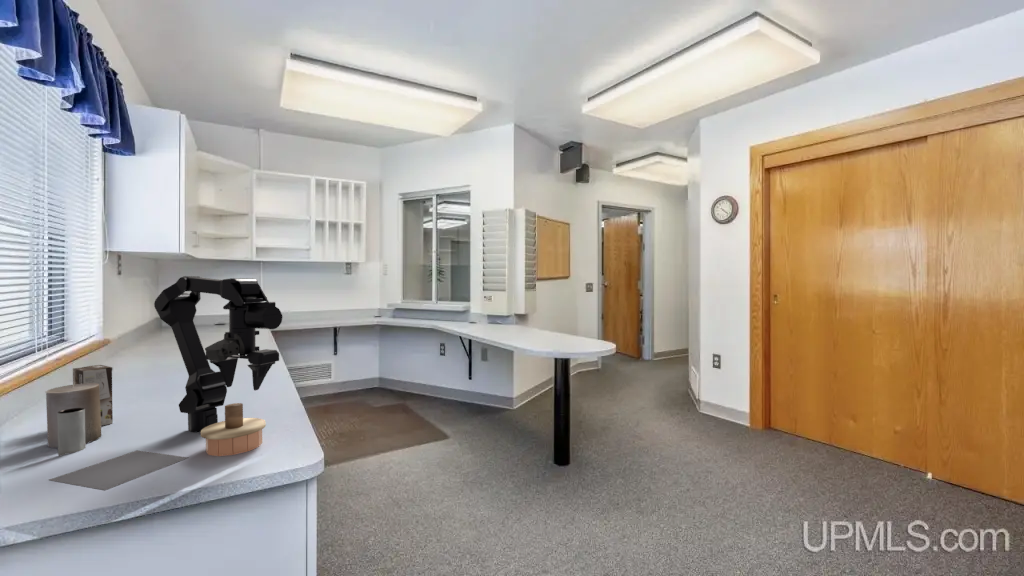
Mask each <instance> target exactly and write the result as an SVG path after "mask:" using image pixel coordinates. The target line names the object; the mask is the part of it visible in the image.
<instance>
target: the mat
mask: <svg viewBox="0 0 1024 576" xmlns="http://www.w3.org/2000/svg"><path fill="white" fill-rule="evenodd" d="M189 458H190V457H187V456H181V455H173V454H165V453H158V452H153V451H146V450H145V451H144V450H138V449H136V450H134V451H131V452H128V453H125V454H121V455H119V456H115V457H113V458H110V459H107V460H104V461H100V462H98V463H94V464H92V465H88V466H86V467H82V468H79V469H76V470H74V471H71V472H68V473H65V474H62V475H60V476H59V475H58V476H56V477H54V478H50V479H48V481H52V482H56V483H62V484H67V485H72V486H73V485H74V486H80V487H84V488H85V487H86V488H90V489H95V490H101V491H107V490H110V489H112V488H115V487H118V486H121V485H122V484H125V483H128V482H131V481H133V480H135V479H139V478H140V477H143V476H146V475H149V474H151V473H154V472H156V471H160V470H162V469H164V468H167V467H170V466H172V465H174V464H177V463H179V462H182V461H184V460H188V459H189Z"/></svg>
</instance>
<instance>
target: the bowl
mask: <svg viewBox="0 0 1024 576" xmlns="http://www.w3.org/2000/svg"><path fill="white" fill-rule="evenodd" d="M262 444H263V429H262V430H260V431H258V432H255V433H252V434H249V435H245V436H241V437H236V438H229V439H205V452H206V455H207V456H213V457H222V456H223V457H225V456H233V455H239V454H243V453H246V452H250V451H252V450H254V449H257V448H259V447H260V446H261V445H262Z"/></svg>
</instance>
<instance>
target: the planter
mask: <svg viewBox="0 0 1024 576" xmlns="http://www.w3.org/2000/svg"><path fill="white" fill-rule="evenodd" d="M57 420H58V448H57V454H58V455H57V457H61V456H64V455H68V454H73V453H77V452H81V451H83V450H86V444H87V443H85V408H71V409H66V410H62V411H59V412H58V413H57Z"/></svg>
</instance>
